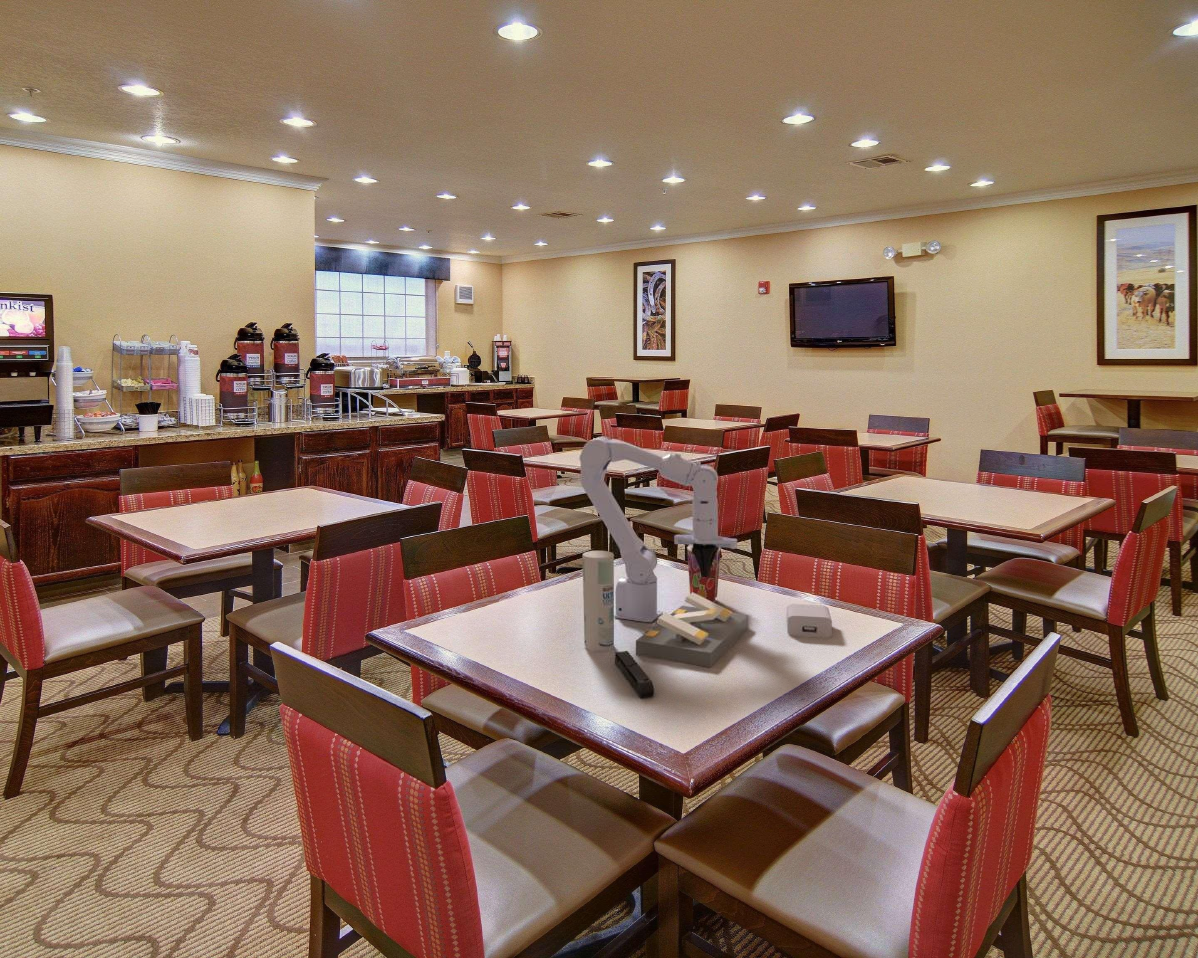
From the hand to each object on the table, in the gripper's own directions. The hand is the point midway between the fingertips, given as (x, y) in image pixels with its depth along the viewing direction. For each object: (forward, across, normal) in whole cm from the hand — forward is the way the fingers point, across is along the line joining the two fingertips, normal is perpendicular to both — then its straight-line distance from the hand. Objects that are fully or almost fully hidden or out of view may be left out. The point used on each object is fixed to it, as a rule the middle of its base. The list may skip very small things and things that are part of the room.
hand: (705, 576), depth 175 cm
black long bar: (+11, -1, -39) cm, 40 cm away
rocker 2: (+6, +2, -14) cm, 15 cm away
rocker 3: (+6, +2, -6) cm, 9 cm away
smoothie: (+11, -6, +14) cm, 18 cm away
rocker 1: (+6, +2, -22) cm, 23 cm away
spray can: (+10, -14, -26) cm, 32 cm away
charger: (+11, +22, +6) cm, 26 cm away
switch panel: (+10, +2, -14) cm, 18 cm away
